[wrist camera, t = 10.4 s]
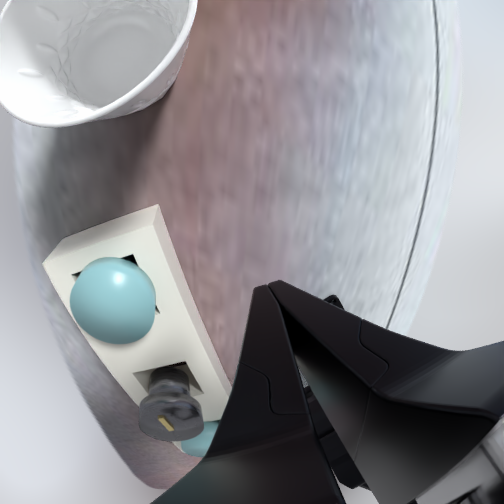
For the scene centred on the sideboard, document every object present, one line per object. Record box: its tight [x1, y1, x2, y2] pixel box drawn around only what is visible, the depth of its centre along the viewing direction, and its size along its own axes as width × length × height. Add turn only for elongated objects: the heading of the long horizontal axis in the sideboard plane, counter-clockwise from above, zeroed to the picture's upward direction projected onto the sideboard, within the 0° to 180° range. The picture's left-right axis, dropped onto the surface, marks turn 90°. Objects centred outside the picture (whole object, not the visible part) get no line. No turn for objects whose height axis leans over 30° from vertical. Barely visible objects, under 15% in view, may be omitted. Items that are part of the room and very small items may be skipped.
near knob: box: [70, 254, 156, 344], centre depth 17 cm, size 5×5×5 cm
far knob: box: [181, 420, 220, 457], centre depth 25 cm, size 5×5×5 cm
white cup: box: [0, 0, 198, 128], centre depth 10 cm, size 8×8×10 cm
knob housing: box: [42, 204, 232, 453], centre depth 22 cm, size 25×8×4 cm, turn 14°
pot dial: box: [139, 367, 204, 441], centre depth 19 cm, size 5×5×5 cm
